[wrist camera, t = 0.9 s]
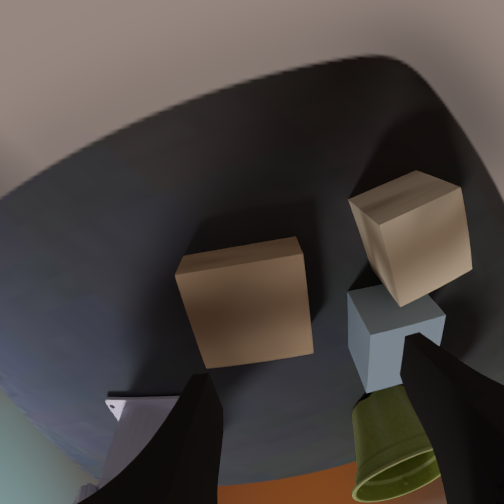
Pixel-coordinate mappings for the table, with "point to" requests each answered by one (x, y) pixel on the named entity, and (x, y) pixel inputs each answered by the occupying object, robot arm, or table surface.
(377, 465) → the plant pot
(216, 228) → the table surface
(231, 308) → the oak block
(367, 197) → the beech cube
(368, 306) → the grey cube
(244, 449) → the table surface
